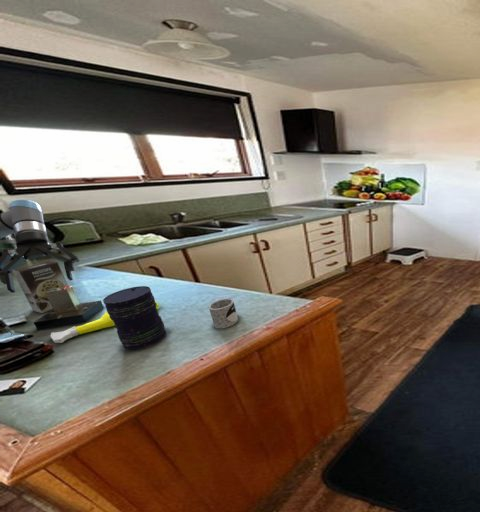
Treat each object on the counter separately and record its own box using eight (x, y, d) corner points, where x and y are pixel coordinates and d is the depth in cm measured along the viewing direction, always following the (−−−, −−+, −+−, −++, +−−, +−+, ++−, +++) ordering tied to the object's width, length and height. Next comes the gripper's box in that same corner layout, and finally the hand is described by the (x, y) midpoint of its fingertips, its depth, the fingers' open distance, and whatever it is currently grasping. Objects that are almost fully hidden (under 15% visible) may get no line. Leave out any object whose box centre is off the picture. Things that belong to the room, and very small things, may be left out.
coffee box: (42, 313, 95) (19, 271, 90) (32, 310, 97) (9, 269, 92) (76, 301, 103) (57, 261, 98) (67, 298, 105) (48, 260, 100)
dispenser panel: (37, 330, 85) (32, 321, 84) (61, 314, 94) (57, 306, 93) (85, 322, 89) (81, 314, 88) (104, 307, 98) (100, 299, 97)
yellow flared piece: (161, 309, 95) (58, 350, 76) (150, 301, 101) (51, 337, 82) (158, 302, 94) (52, 341, 75) (147, 294, 100) (46, 329, 81)
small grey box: (55, 313, 89) (43, 291, 86) (61, 310, 91) (49, 288, 88) (77, 310, 90) (66, 288, 87) (82, 307, 92) (71, 285, 89)
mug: (233, 326, 83) (228, 308, 81) (210, 329, 82) (204, 310, 80) (244, 310, 92) (239, 292, 90) (223, 312, 92) (218, 294, 89)
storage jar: (157, 346, 75) (139, 299, 70) (115, 354, 73) (92, 306, 68) (172, 326, 84) (157, 283, 79) (135, 333, 82) (116, 289, 77)
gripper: (82, 235, 112) (94, 278, 107) (-18, 249, 97) (-10, 300, 91) (76, 224, 107) (88, 269, 102) (-32, 237, 91) (-24, 291, 86)
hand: (42, 284), depth 96 cm, fingers open, 13 cm apart
